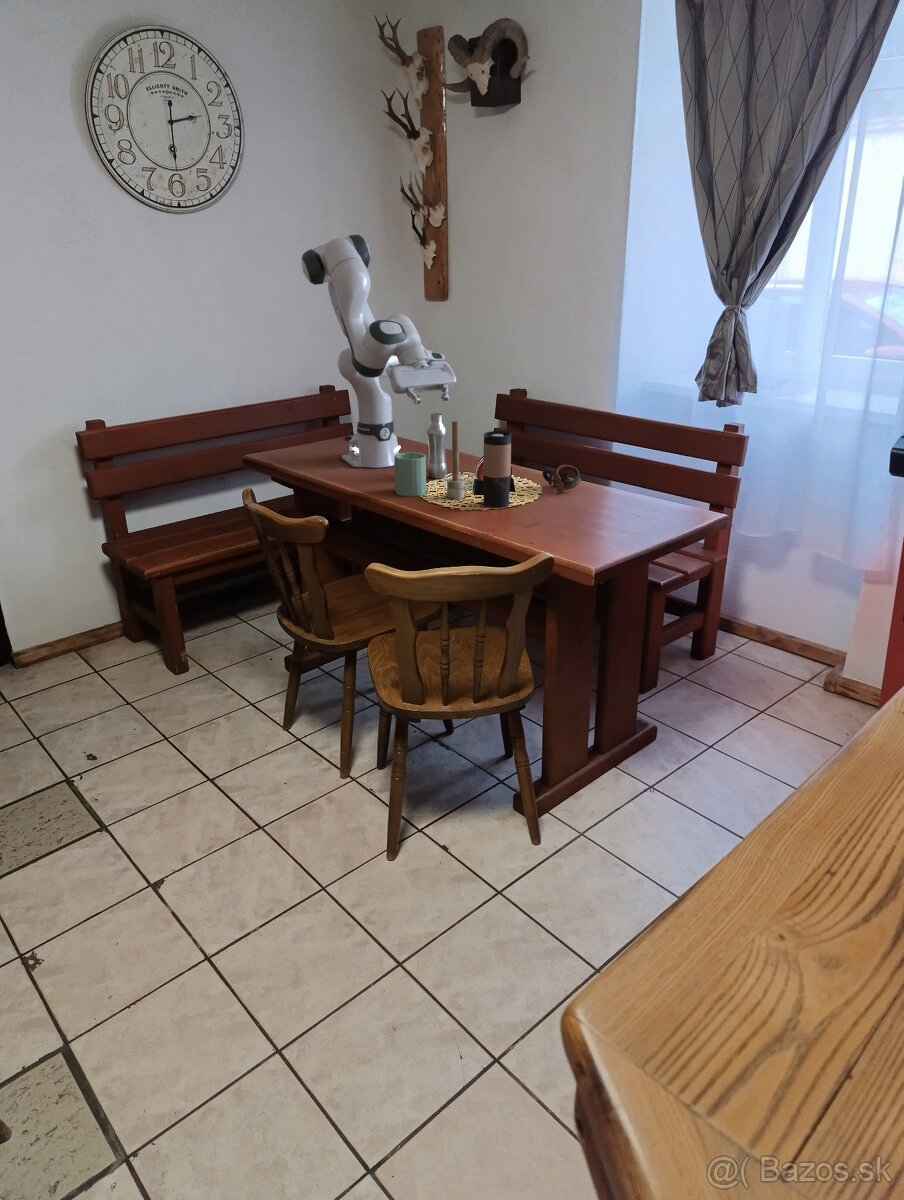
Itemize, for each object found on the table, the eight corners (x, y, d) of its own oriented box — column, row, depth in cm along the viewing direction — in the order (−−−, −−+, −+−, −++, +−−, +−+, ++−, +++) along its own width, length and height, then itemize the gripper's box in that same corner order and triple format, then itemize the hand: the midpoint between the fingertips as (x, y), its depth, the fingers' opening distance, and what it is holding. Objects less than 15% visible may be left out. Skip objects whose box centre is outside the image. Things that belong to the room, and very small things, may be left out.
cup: (389, 491, 244) (388, 454, 239) (415, 486, 248) (415, 450, 244) (405, 498, 237) (404, 460, 232) (432, 493, 241) (431, 456, 237)
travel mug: (512, 501, 232) (514, 432, 225) (505, 509, 226) (507, 437, 218) (487, 499, 235) (488, 430, 227) (479, 506, 228) (480, 435, 220)
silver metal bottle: (448, 475, 261) (447, 412, 254) (446, 480, 255) (445, 416, 247) (428, 474, 262) (427, 412, 254) (425, 480, 256) (424, 416, 248)
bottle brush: (443, 496, 238) (443, 420, 230) (457, 493, 241) (457, 419, 232) (453, 500, 234) (453, 423, 226) (467, 497, 237) (467, 421, 228)
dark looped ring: (580, 487, 249) (586, 467, 242) (571, 507, 244) (577, 487, 237) (543, 474, 251) (548, 454, 244) (534, 494, 246) (538, 474, 239)
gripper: (387, 358, 233) (404, 397, 229) (448, 353, 242) (465, 391, 238) (380, 372, 238) (397, 411, 234) (441, 367, 248) (457, 404, 244)
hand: (432, 401), depth 236 cm, fingers open, 8 cm apart
